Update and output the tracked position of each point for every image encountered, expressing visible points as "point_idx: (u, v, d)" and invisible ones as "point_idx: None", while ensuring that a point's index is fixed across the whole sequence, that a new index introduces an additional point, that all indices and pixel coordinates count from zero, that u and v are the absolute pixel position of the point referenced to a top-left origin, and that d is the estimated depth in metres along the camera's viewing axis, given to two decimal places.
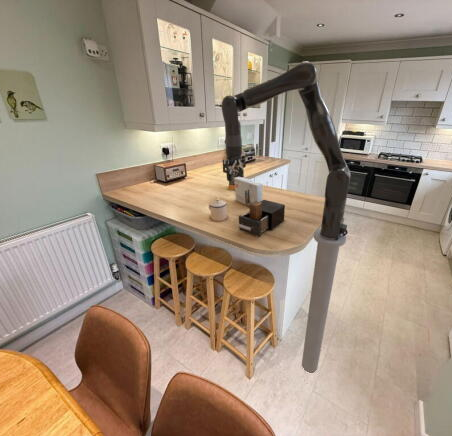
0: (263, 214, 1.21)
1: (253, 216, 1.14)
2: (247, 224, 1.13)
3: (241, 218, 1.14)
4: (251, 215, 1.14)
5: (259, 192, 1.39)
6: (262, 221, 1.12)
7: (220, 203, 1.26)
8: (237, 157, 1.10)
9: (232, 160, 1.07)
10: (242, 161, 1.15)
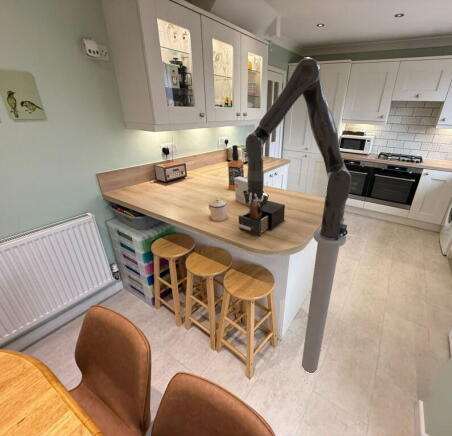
0: (263, 214, 1.21)
1: (253, 216, 1.14)
2: (247, 224, 1.13)
3: (241, 218, 1.14)
4: (251, 215, 1.14)
5: None
6: (262, 221, 1.12)
7: (220, 203, 1.26)
8: (256, 191, 1.09)
9: (249, 191, 1.11)
10: None
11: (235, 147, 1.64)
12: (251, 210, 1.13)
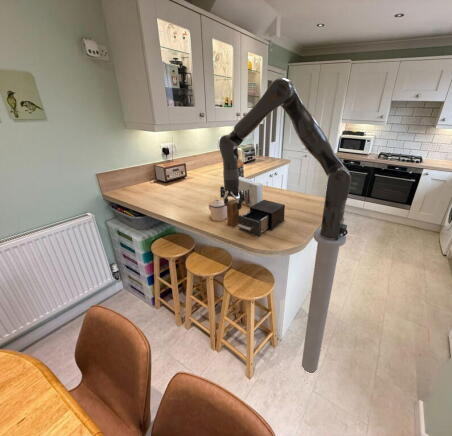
0: (263, 214, 1.21)
1: (230, 213, 1.21)
2: (247, 224, 1.13)
3: (241, 218, 1.14)
4: (228, 213, 1.22)
5: (259, 192, 1.39)
6: (262, 221, 1.12)
7: (220, 203, 1.26)
8: (231, 189, 1.16)
9: (226, 189, 1.18)
10: None
11: None
12: (228, 208, 1.20)
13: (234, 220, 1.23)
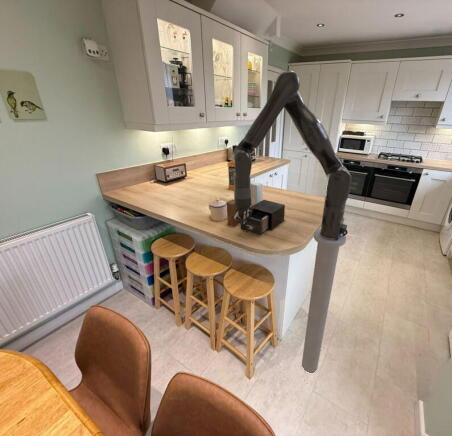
0: (264, 213, 1.22)
1: (230, 213, 1.21)
2: (249, 223, 1.14)
3: None
4: (228, 213, 1.22)
5: (259, 192, 1.39)
6: (263, 220, 1.13)
7: (220, 203, 1.26)
8: (246, 207, 1.05)
9: (241, 211, 1.03)
10: (248, 213, 1.10)
11: (235, 147, 1.64)
12: (228, 208, 1.20)
13: (234, 220, 1.23)
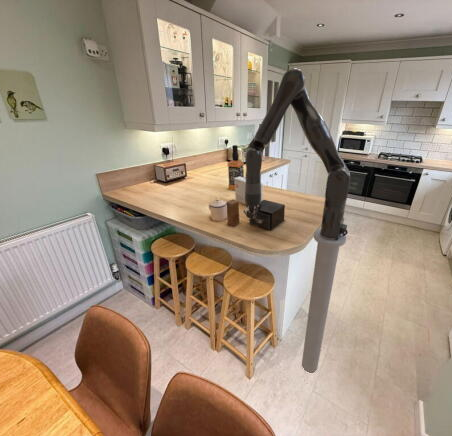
0: None
1: (230, 213, 1.21)
2: (257, 217, 1.20)
3: None
4: (228, 213, 1.22)
5: None
6: None
7: (220, 203, 1.26)
8: (256, 202, 1.11)
9: (251, 206, 1.09)
10: (257, 208, 1.15)
11: (235, 147, 1.64)
12: (228, 208, 1.20)
13: (234, 220, 1.23)
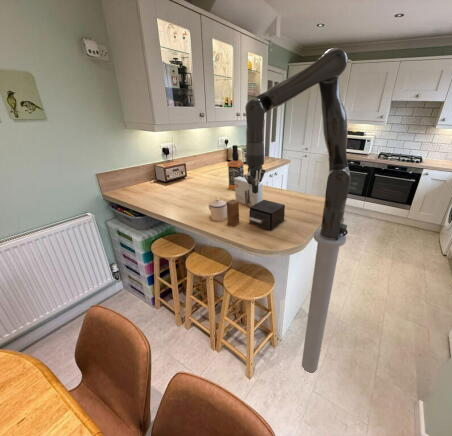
0: None
1: (230, 213, 1.21)
2: (257, 217, 1.20)
3: (252, 212, 1.21)
4: (228, 213, 1.22)
5: (259, 192, 1.39)
6: None
7: (220, 203, 1.26)
8: (258, 167, 0.98)
9: (253, 170, 0.96)
10: None
11: (235, 147, 1.64)
12: (228, 208, 1.20)
13: (234, 220, 1.23)
